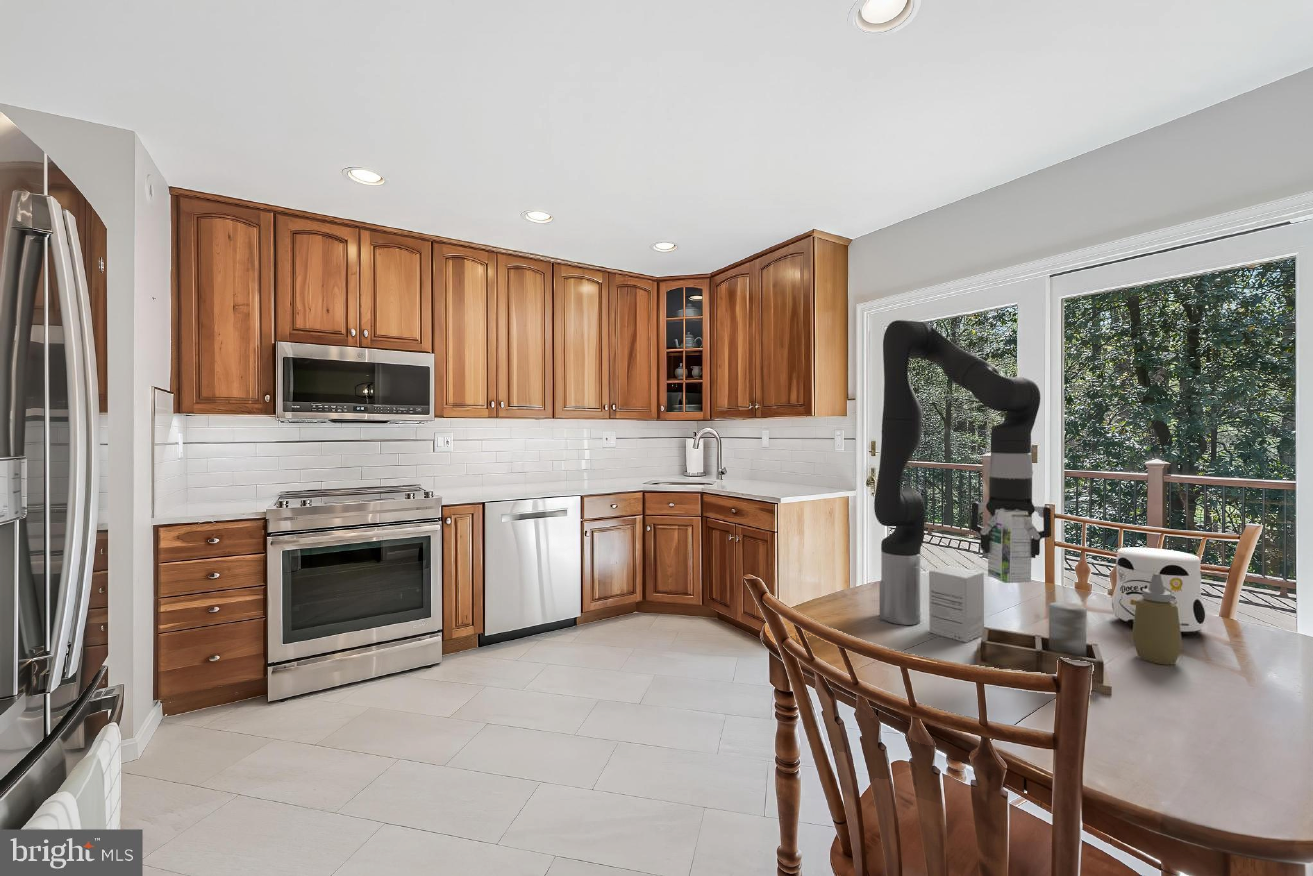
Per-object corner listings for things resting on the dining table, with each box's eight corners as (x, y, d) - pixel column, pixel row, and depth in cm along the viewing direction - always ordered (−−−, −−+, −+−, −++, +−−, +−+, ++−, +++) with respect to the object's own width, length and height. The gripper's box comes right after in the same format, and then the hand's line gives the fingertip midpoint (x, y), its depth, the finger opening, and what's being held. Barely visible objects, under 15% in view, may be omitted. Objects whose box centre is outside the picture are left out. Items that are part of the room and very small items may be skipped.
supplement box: (947, 624, 144) (947, 564, 144) (985, 635, 137) (985, 571, 137) (927, 632, 139) (927, 569, 139) (965, 643, 132) (966, 577, 131)
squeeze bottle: (1170, 655, 124) (1170, 571, 124) (1190, 669, 116) (1191, 580, 116) (1124, 650, 127) (1124, 568, 126) (1141, 664, 119) (1142, 577, 119)
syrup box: (986, 576, 122) (986, 507, 121) (1013, 575, 122) (1013, 506, 122) (1004, 583, 116) (1005, 511, 116) (1032, 582, 116) (1033, 510, 116)
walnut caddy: (974, 669, 117) (974, 602, 117) (977, 649, 128) (977, 588, 127) (1111, 694, 106) (1111, 621, 106) (1103, 671, 116) (1104, 604, 116)
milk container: (1126, 634, 137) (1126, 558, 136) (1101, 612, 153) (1102, 544, 152) (1221, 644, 130) (1222, 564, 130) (1185, 620, 146) (1185, 549, 146)
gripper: (969, 475, 119) (968, 554, 120) (1053, 478, 111) (1052, 563, 112) (972, 472, 126) (971, 547, 126) (1052, 475, 118) (1051, 555, 118)
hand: (1009, 554), depth 119 cm, fingers closed on syrup box, 7 cm apart
